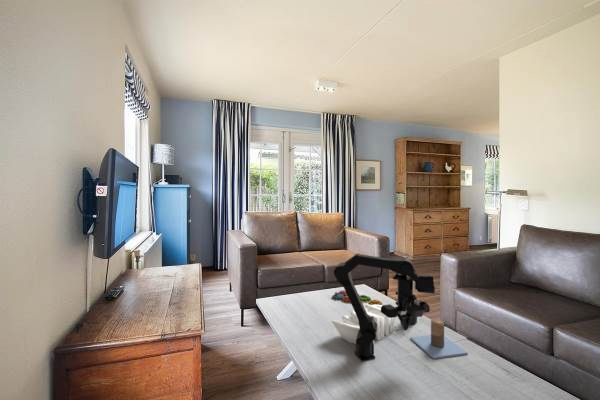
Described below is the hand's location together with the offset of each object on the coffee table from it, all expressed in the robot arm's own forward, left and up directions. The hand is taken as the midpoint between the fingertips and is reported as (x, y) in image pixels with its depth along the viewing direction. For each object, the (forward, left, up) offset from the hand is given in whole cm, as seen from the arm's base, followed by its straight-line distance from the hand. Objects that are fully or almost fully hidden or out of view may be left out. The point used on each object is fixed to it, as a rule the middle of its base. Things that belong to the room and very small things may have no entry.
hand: (405, 330), depth 110 cm
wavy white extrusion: (-3, +25, -13) cm, 29 cm away
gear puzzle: (+12, +64, -14) cm, 66 cm away
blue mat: (+21, +6, -13) cm, 25 cm away
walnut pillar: (+21, +6, -12) cm, 25 cm away
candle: (+25, +29, -13) cm, 40 cm away
